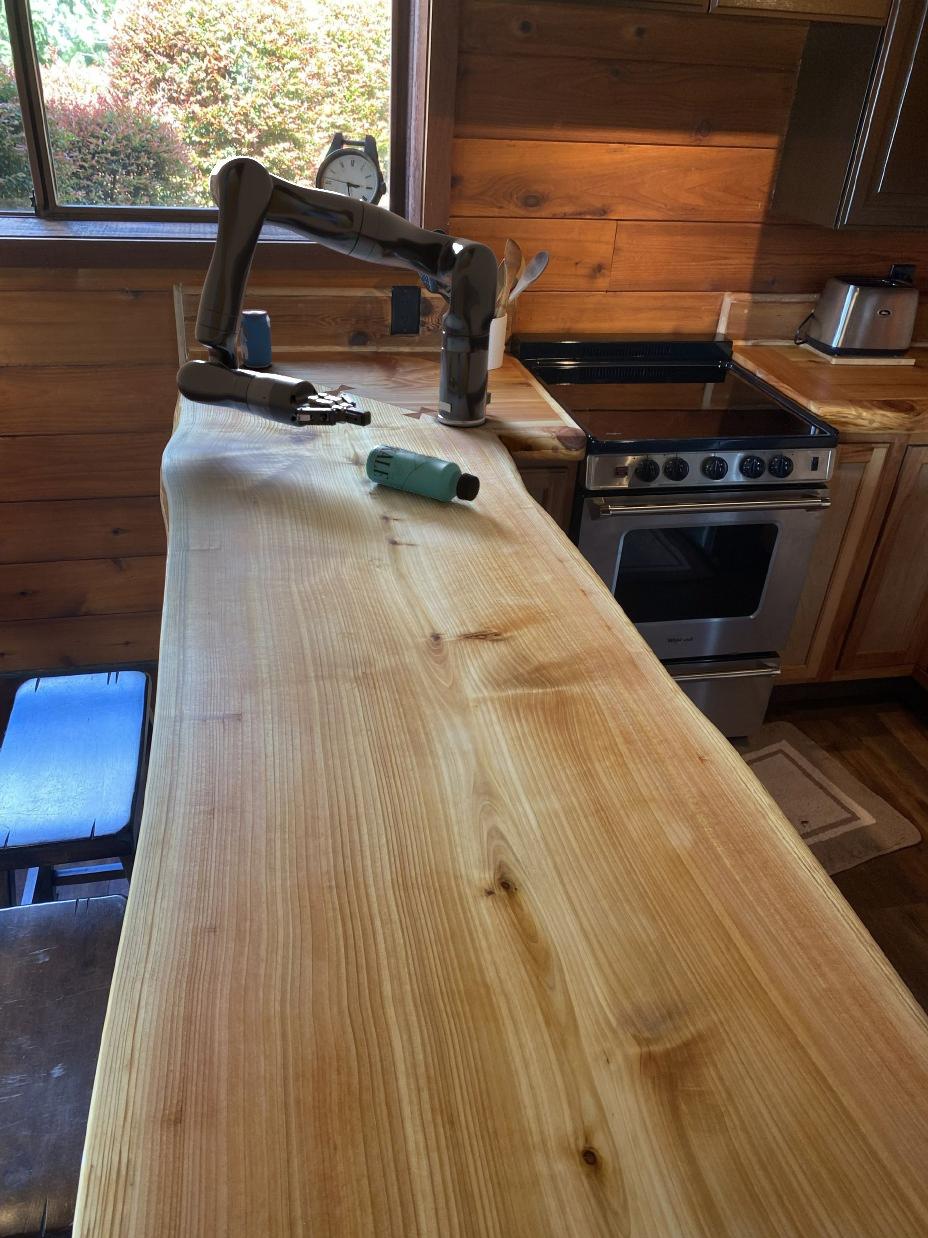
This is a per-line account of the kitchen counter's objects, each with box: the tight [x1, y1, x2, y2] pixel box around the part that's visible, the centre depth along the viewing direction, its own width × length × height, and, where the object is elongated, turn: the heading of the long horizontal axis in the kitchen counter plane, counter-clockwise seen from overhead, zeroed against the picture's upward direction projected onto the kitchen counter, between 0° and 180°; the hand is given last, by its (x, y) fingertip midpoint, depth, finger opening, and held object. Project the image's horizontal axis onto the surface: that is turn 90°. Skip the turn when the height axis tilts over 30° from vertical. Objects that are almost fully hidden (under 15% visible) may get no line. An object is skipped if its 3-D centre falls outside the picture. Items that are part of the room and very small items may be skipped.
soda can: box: [239, 308, 273, 369], centre depth 207 cm, size 7×7×12 cm
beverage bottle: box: [365, 443, 481, 503], centre depth 141 cm, size 6×7×20 cm
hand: (368, 419), depth 141 cm, fingers closed
